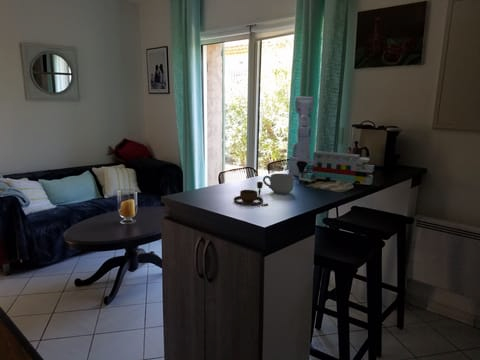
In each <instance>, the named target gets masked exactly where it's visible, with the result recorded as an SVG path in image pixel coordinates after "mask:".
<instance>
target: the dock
mask: <svg viewBox="0 0 480 360" xmlns="http://www.w3.org/2000/svg"><path fill="white" fill-rule="evenodd" d="M353 184H354V183H350V182H342V181H331V182H325V181H317V182H316V183H313V182H312V184H310V185H309V184H307V185H305V186H306V187H309V188H315V189H320V190H321V189H322V190H326V191H332V192H335V193H344V192H346V191H349V190H352V189H353V188H354V186H355V185H353Z"/></svg>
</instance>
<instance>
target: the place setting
mask: <svg viewBox="0 0 480 360" xmlns="http://www.w3.org/2000/svg"><path fill="white" fill-rule="evenodd" d="M263 184H264V182H263V181H257V183H256V188H257V189H258V191H256V190H254V189H242V190H240V191H239V192H240V193H239V196H235V197H233V202H234V203H235V204H237V205H240V206H248V207H250V206H251V207H252V206H257V208H260V206H261V207H268V205H269V203H263V202H264V199H263V198H262V197H261V196H258V195H261V192H262V191H261V190H262V189H263ZM239 200H241V201H239ZM256 200H257V202H255V201H256ZM263 205H265V206H263Z"/></svg>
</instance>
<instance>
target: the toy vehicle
mask: <svg viewBox="0 0 480 360" xmlns="http://www.w3.org/2000/svg"><path fill="white" fill-rule="evenodd" d="M312 155H313V156H312V160H316V164H312V170H311V173H313V174H315V178H317V180H318V179H320V180H325V181H324V182H336V181H340V182H346V183H353V184H354V186H357V187H361V185H366V186H367V185H369V186H371V184H373V178H374V176H373V175H374V174H371V173H373V172H374V170H375V165H374V164H373V165H372V164H371V165H370V164H364V163H369V162H370V157H361V156H360V155H361V154H355V153H354V154H353V153H344V152H331V151H323V150H322V151H321V150H316V151H314V152H313V154H312ZM369 173H370V174H369Z"/></svg>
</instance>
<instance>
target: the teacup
mask: <svg viewBox="0 0 480 360" xmlns="http://www.w3.org/2000/svg"><path fill="white" fill-rule="evenodd" d="M266 179H268V180H269V182H270V183H267V182H266ZM262 182H263V184H264V185H265V186H267V187H268V188H269V189H270V190H271V191H272V192H273V193H274V194H276V195H281V194H282V195H284V194H285V195H288V194H290V193H291V192H293V189H294V184H295V183H294V182H295V175H289V174H288V173H273V174H271V175H264V176H263V178H262Z"/></svg>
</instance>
